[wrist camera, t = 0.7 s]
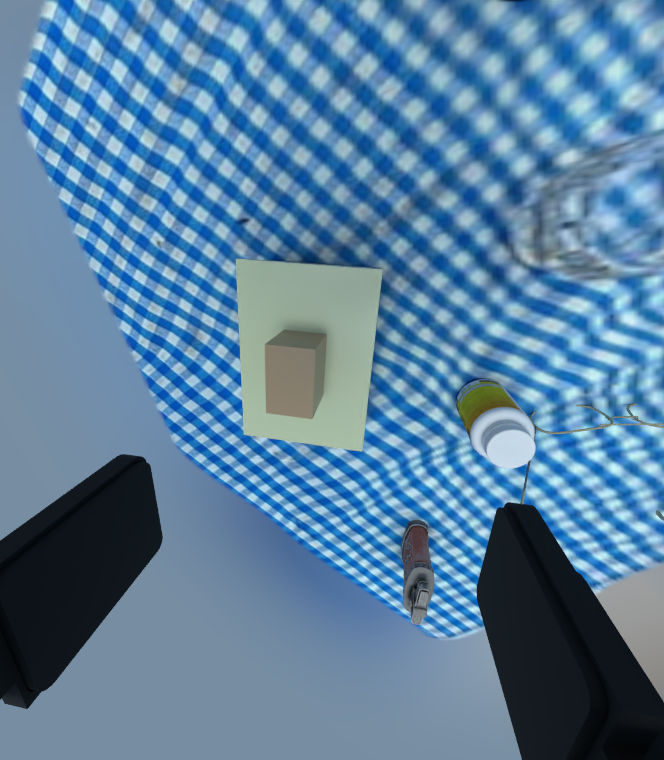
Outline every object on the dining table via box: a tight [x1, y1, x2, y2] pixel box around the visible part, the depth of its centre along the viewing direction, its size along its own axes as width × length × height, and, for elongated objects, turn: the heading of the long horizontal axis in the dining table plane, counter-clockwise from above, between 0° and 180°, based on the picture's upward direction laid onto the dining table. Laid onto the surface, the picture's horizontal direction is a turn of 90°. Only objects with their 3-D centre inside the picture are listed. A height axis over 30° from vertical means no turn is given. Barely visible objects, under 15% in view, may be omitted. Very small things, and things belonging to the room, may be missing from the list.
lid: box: [236, 259, 383, 451], centre depth 30 cm, size 18×13×8 cm
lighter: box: [401, 520, 434, 625], centre depth 42 cm, size 8×3×10 cm, turn 176°
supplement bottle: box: [456, 379, 535, 468], centre depth 33 cm, size 6×6×10 cm
